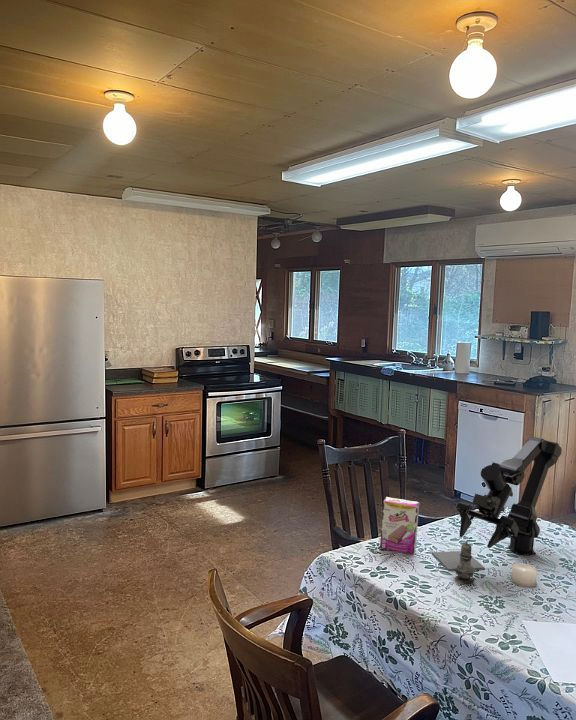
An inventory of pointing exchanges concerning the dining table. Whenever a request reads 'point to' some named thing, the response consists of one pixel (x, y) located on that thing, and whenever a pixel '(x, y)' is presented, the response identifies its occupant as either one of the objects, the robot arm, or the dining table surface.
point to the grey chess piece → (464, 565)
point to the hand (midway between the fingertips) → (474, 542)
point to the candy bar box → (399, 525)
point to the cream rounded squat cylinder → (524, 574)
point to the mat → (454, 560)
